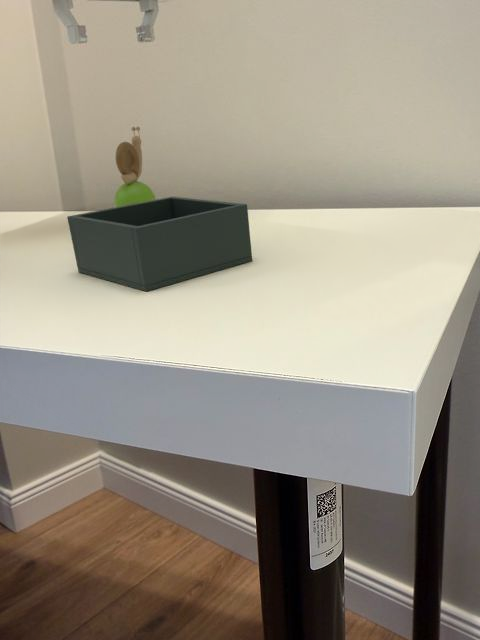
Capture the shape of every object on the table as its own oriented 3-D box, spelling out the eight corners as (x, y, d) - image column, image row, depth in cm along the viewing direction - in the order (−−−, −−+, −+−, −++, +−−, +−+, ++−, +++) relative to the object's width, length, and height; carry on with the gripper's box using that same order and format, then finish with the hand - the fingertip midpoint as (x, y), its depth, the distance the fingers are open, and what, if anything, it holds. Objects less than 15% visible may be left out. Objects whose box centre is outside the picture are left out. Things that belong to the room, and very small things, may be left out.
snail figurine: (167, 216, 92) (154, 125, 87) (148, 226, 86) (132, 128, 82) (133, 217, 93) (118, 127, 89) (111, 226, 88) (94, 131, 83)
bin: (78, 272, 65) (66, 216, 63) (179, 247, 73) (172, 196, 71) (146, 291, 57) (135, 228, 55) (252, 260, 65) (247, 204, 62)
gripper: (153, -79, 83) (169, 43, 89) (-7, -97, 71) (24, 46, 76) (182, -90, 79) (197, 38, 85) (17, -112, 66) (48, 41, 72)
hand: (113, 42), depth 80 cm, fingers open, 8 cm apart
